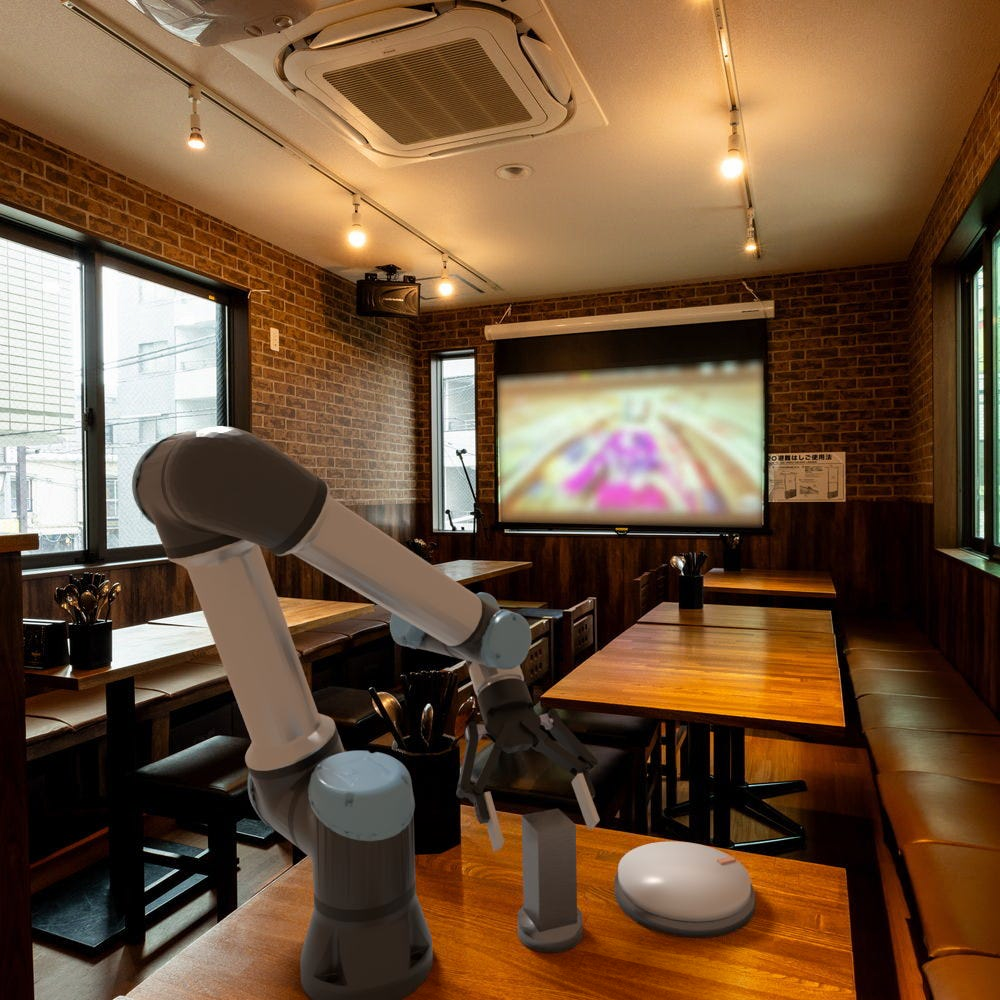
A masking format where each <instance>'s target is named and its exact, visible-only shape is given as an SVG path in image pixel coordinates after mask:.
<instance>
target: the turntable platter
mask: <svg viewBox="0 0 1000 1000" xmlns="http://www.w3.org/2000/svg"><path fill="white" fill-rule="evenodd" d="M617 872H618V881H619V886H620V889H621V891H622V892H623V894H624V895H625V896H626V897H627V898H628V899H629V900H630V901H631V902H632V903H634V904H635V905H637V906H638V907H640V908H642V909H644V910H645V911H648V912H650V913H652V914H655V915H658V916H661V917H665V918H669V919H674V920H680V921H689V922H703V921H713V920H719V919H723V918H726V917H729V916H732V915H734V914H736V913H738V912H739V911H741V910H742V909H743V908H744V907H745V906H746V905H747V903H748V902H749V899H750V895H751V885H750V883H751V876H750V874H749V871H748V870H747V869H746V868H745V866H744V865H743V864H742V863H741V862H740V861H739V860H737V859H736V858H735V857H734V856H732V855H729V854H727V853H725V852H723V851H721V850H718V849H717V848H714V847H710V846H707V845H703V844H701V843H700V844H699V843H693V842H688V841H687V842H686V841H659V842H658V841H657V842H652V843H647V844H643V845H640V846H638V847H635V848H633V849H632V850H631V849H630V850H629V851H628V852H627V853H625V854H624V855H623V856H622V858H621V859H620V860H619V863H618V867H617Z"/></svg>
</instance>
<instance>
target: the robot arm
mask: <svg viewBox="0 0 1000 1000" xmlns="http://www.w3.org/2000/svg"><path fill="white" fill-rule="evenodd" d="M131 490H132V495H133V499H134V502H135V505H136V506H137V508H138V510H139V511H140V513H141V515H143V516H144V517H145V518H146V520H147V521H149V523H151V524H152V525H154V526H155V529H156V532H157V533H158V536H159V539H160V542H161V544H162V547H163V548H164V549H163V550H164V551H165V554H166V557H167V559H168V561H170V562H172V563H175V564H177V565H178V566H183V568H185V569H186V570H187V574H188V576H189V578H190V580H191V583H192V586H193V589H194V591H195V594H196V596H197V599H198V601H199V604H200V607H201V610H202V612H203V616H204V618H205V620H206V623H207V626H208V629H209V632H210V634H211V637H212V639H213V642H214V644H215V647H216V649H217V652H218V655H219V658H220V660H221V663H222V666H223V668H224V670H225V673H226V674H225V675H226V676H227V678H228V682H229V685H230V687H231V690H232V693H233V694H234V697H235V700H236V703H237V705H238V708H239V710H240V713H241V715H242V718H243V721H244V724H245V727H246V729H247V732H248V735H249V737H250V740H251V743H250V746H249V747H248V748H247V751H246V753H245V756H244V761H245V764H246V766H247V769H248V777H247V792H248V798H249V800H250V803H251V806H252V807H253V810H254V811H255V812H256V814H257V815H258V817H259V818H260V820H261V821H262V822H263V823H264V824H265V825H266V826H268V827H269V828H270V829H272V830H274V831H276V832H277V833H279V834H280V835H282V836H283V837H284V838H285V839H287V840H288V841H289V842H291V844H293V845H294V846H296V847H297V848H298V849H299V850H300V851H302V852H303V853H304V854H306V856H308V857H309V858H310V859H311V863H312V879H313V880H312V884H313V885H312V886H313V911H312V914H311V918H310V921H309V925H308V927H307V931H306V934H305V935H306V936H305V939H304V942H303V946H302V949H301V953H300V960H299V961H300V962H299V963H300V964H299V965H300V983H301V986H302V988H303V991H304V992H305V993H306V995H307V996H308V997H309V998H310V999H311V1000H402V999H403V998H405V997H407V996H409V995H411V993H413V992H415V991H416V990H417V989H418V988H419V987H420V986H421V985H422V984H423V983H424V982H425V981H426V979H427V977H429V975H430V972H431V970H432V967H433V963H434V962H433V961H434V954H433V951H434V949H433V948H434V947H433V939H432V938H433V937H432V933H431V931H430V928H429V925H428V923H427V920H426V917H425V915H424V912H423V909H422V907H421V906H422V905H421V904H420V901H419V898H418V896H417V890H416V889H417V888H416V857H415V856H416V854H415V853H416V852H415V823H414V822H415V821H414V819H415V818H414V814H415V812H414V811H415V808H416V803H415V796H414V792H413V791H414V790H413V785H412V778H411V775H410V772H409V770H408V768H406V766H405V765H404V764H403V762H401V761H400V760H398V759H396V758H395V757H393V756H391V755H389V754H386V753H383V752H378V751H375V752H373V753H372V752H370V751H369V750H349V751H345V748H344V746H343V743H342V741H341V737H340V735H339V732H338V729H337V726H336V723H335V721H334V719H333V718H331V717H329V716H328V715H325V714H322V713H319V712H318V709H317V706H316V703H315V700H314V698H313V695H312V692H311V688H310V686H309V684H308V681H307V677H306V675H305V672H304V669H303V665H302V663H301V661H300V658H299V655H298V652H297V648H296V646H295V643H294V641H293V638H292V637H293V636H292V635H291V631H290V629H289V626H288V622H287V621H286V618H285V615H284V612H283V610H282V609H283V608H282V606H281V603H280V600H279V597H278V595H277V592H276V590H275V586H274V584H273V580H272V578H271V575H270V572H269V569H268V567H267V566H268V565H267V564H266V560H265V558H264V555H263V553H262V549H261V548H263V549H265V550H267V552H270V553H272V554H273V555H274V556H277V557H283V556H287V555H291V554H292V555H294V556H295V557H297V558H299V559H300V560H302V561H304V562H306V564H309V565H311V566H312V567H314V568H315V569H318V570H319V571H321V572H322V573H324V574H325V575H328V576H329V577H332V578H333V579H335V580H336V581H338V582H339V583H341V584H343V585H345V586H346V587H348V588H349V589H352V591H355V592H356V593H358V594H359V595H362V596H363V597H365V598H366V599H369V600H370V601H372V602H373V603H375V604H377V605H378V606H380V607H382V608H383V609H385V610H387V611H388V612H390V613H391V615H390V619H389V630H390V633H391V637H392V639H393V641H395V643H396V644H398V645H399V646H403V647H408V648H411V649H413V650H419V649H420V650H424V651H428V652H433V653H436V654H440V655H445V656H447V657H448V656H449V657H452V658H455V659H456V658H457V659H460V660H463V661H465V664H466V666H467V670H468V672H469V676H470V679H471V680H470V681H471V683H472V686H473V690H474V693H475V695H476V696H477V700H476V701H477V703H478V707H479V710H480V714H481V716H482V720H483V724H477V723H476V722H475V721H470V722H468V724H467V727H466V728H465V731H464V740H465V749H464V755H463V758H462V759H463V760H462V762H461V769H460V773H459V779H458V782H457V787H456V792H455V793H456V797H457V798H458V799H463V798H467V799H468V800H469V801H470V803H472V804H473V807H474V811H475V813H476V814H475V815H476V819H477V821H478V823H479V824H480V825H482V824H485V826H486V829H487V832H488V836H489V840H490V843H491V848H492V851H493V852H496V851H500V849H501V848H502V847H503V845H504V844H505V839H504V837H503V833H502V829H501V826H500V822H499V819H498V815H497V812H496V808H495V804H494V801H493V797H492V794H491V791H485V792H484V790H485V787H486V785H487V783H488V781H489V779H490V777H491V775H492V772H493V770H494V768H495V765H496V764H497V762H498V759H499V757H500V755H501V752H502V751H503V752H505V753H507V754H513V753H515V752H518V751H521V752H522V751H523V752H524V751H525V752H526V751H528V750H529V749H530V748H531V749H532V750H534V751H536V752H537V753H539V752H540V753H541V754H542V755H544V757H546V758H548V759H549V760H550V761H552V762H553V763H554V764H556V765H557V766H558V767H560V768H562V769H563V770H564V771H565V772H567V773H568V774H569V775H571V776H572V777H574V778H573V779H572V781H571V785H572V788H573V791H574V793H575V797H576V800H577V802H578V804H579V808H580V811H581V814H582V816H583V819H584V823H585V824H586V827H587V830H590V829H594V828H595V827H596V826H597V824H598V823H599V822H600V816H599V814H598V812H597V808H596V806H595V804H594V801H593V799H594V798H595V797H596V790H595V788H594V786H593V782H592V780H591V778H590V775H589V774H590V773H591V772H592V771H593V770H594V769H595V768H596V766H597V764H598V762H599V760H598V759H597V758H596V757H595V756H594V755H593V754H592V753H591V752H590V751H589V749H588V748H587V747H586V746H585V745H584V744H583V743H582V742H581V741H580V740H579V739H578V738H577V737H576V735H575V734H574V733H573V732H572V731H571V730H570V729H569V728H568V727H567V725H566V724H564V722H563V721H562V719H561V717H560V714H559V713H558V711H557V710H556V709H555V708H551V709H549V711H548V712H547V713H544V714H540V715H539V714H538V713H537V711H536V710H535V708H534V704H533V700H532V697H531V694H530V691H529V689H528V685H527V682H526V681H525V680H524V679H525V677H524V674H523V670H522V668H521V665H522V663H523V662H524V661H525V659H526V658H527V656H528V654H529V651H530V648H531V646H532V630H531V627H530V624H529V622H528V621H527V619H526V618H525V617H524V616H522V615H521V614H519V613H516V612H513V611H511V610H510V609H507V608H506V609H504V608H502V609H501V608H500V606H499V604H498V603H499V602H497V599H496V598H495V597H494V596H493V595H491V594H490V593H488V592H482V591H481V592H478V593H474V592H472V591H471V590H470V589H468V588H466V587H465V586H463V585H462V584H461V583H459V582H458V581H456V580H455V579H453V578H452V577H450V576H448V575H447V574H446V573H444V572H443V571H442V570H440V569H438V568H437V567H436V566H434V565H433V564H431V563H430V562H428V561H427V560H425V559H424V558H422V557H420V556H419V555H418V554H416V553H414V551H412V550H410V549H409V548H407V547H406V546H404V545H403V544H401V543H400V542H398V541H397V540H395V539H394V538H392V536H390V535H388V534H387V533H385V532H384V531H382V530H381V529H379V528H378V527H376V526H375V525H373V524H372V523H371V522H369V521H367V520H366V519H365V518H363V517H362V516H360V515H359V514H357V513H356V512H355V511H353V510H351V509H350V508H348V507H347V506H345V505H344V504H342V503H341V502H339V501H338V500H337V499H335V498H333V497H332V496H331V492H330V491H331V490H330V486H329V484H328V483H327V481H325V480H323V479H322V478H320V477H319V476H318V475H316V474H314V473H313V472H312V471H310V470H309V469H307V468H306V467H304V466H303V465H302V464H300V463H299V462H297V461H296V460H295V459H293V458H292V457H290V456H289V455H287V454H286V453H285V452H283V451H281V450H280V449H279V448H277V447H275V446H274V445H272V444H271V443H269V442H268V441H266V440H264V439H263V438H261V437H258V436H257V435H255V434H253V433H251V432H249V431H246V430H242V429H240V428H236V427H232V426H223V425H219V426H209V427H204V428H201V429H197V430H188V431H183V432H177V433H173V434H171V435H169V436H166V437H163V438H162V439H161V440H159V441H157V442H155V443H154V444H152V445H151V446H150V447H149V448H148V449H146V450H145V452H143V454H142V455H141V456H140V458H139V460H138V461H137V463H136V465H135V468H134V469H133V474H132V479H131ZM541 726H543V727H544V730H546V731H549V733H550V734H551V736H552V737H553V738H554V739H555V740H556V741H557V742H555V741H554V740H553V739H552V738H550V736H549V735H548V733H547V732H545V731H544V730H542V728H540V727H541ZM483 735H484V736H485V737H486V738H487V739H488V740H489V741H490V742H492V743H493V746H492V748H491V749H490V752H489V754H488V757H487V758H486V760H485V763H484V765H483V767H482V769H481V771H480V773H479V775H478V778H477V780H476V782H475V783H474V784H471V780H472V774H473V769H474V764H475V759H476V755H477V749H478V745H479V742H480V741H481V739H482V737H483Z"/></svg>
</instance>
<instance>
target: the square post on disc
mask: <svg viewBox="0 0 1000 1000" xmlns="http://www.w3.org/2000/svg"><path fill="white" fill-rule="evenodd" d="M521 833H522V834H521V837H522V838H521V840H522V841H521V843H522V845H521V846H522V847H521V848H522V849H521V850H522V898H523V899H522V900H523V901H522V902H523V903H522V904H523V905H522V907H521V908H519V911H518V912H517V936H518V938H519V941H521V943H522V944H523V945H525V946H526V947H527V948H529V949H532V950H534V951H537V952H541V953H546V954H547V953H548V954H556V953H557V954H558V953H562V952H563V953H564V952H566V951H569V950H571V949H574V948H575V947H576V946H577V945H578V944H580V943H581V941H582V939H583V935H584V933H583V931H584V928H583V926H584V925H583V922H584V921H583V918H584V917H583V913H582V911H581V910H580V909H579V907H578V890H577V889H578V887H577V886H578V885H577V884H578V883H577V881H578V880H577V871H578V870H577V827H576V824H575V823H574V822H573V821H572V820H571V819H570V818H569V817H568V816H567V815H566V814H565V813H564V812H563V811H562V810H560V809H559V808H552V809H547V810H542V811H536V812H531V813H526V814H522V815H521Z"/></svg>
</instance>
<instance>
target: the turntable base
mask: <svg viewBox="0 0 1000 1000" xmlns="http://www.w3.org/2000/svg"><path fill="white" fill-rule="evenodd" d="M750 885H751V895H750V899H749V902H748V903H747V905H746V906H745V907H744V908H743V909H742V910H741V911H739V912H738V913H736V914H734V915H732V916H729V917H726V918H723V919H719V920H713V921H703V922H689V921H680V920H674V919H669V918H665V917H661V916H658V915H655V914H652V913H650V912H648V911H645V910H644V909H642V908H640V907H638V906H637V905H635V904H634V903H632V902H631V901H630V900H629V899H628V898H627V897H626V896H625V895H624V894H623V892H622V891H621V889H620V886H619V881H618V871H616V874H615V875H614V895H615V900H616V902H617V904H618V906H619V908H620V909H621V910H622V911H623V913H625V914H626V916H628V917H629V918H630V919H632V920H633V921H635V922H636V923H638V924H640V925H641V926H643V927H645V928H648V929H650V930H652V931H655V932H658V933H661V934H665V935H668V936H673V937H679V938H687V939H705V938H709V939H710V938H715V937H721V936H726V935H729V934H731V933H735V932H737V931H739V930H741V929H742V928H743V927H745V926H746V925H747V924H748V923H749V922H750V921H752V918H753V917H754V914H755V911H756V909H755V908H756V902H755V901H756V898H755V897H756V895H755V894H756V893H755V888H754V887H753V885H752V882H750Z"/></svg>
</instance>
